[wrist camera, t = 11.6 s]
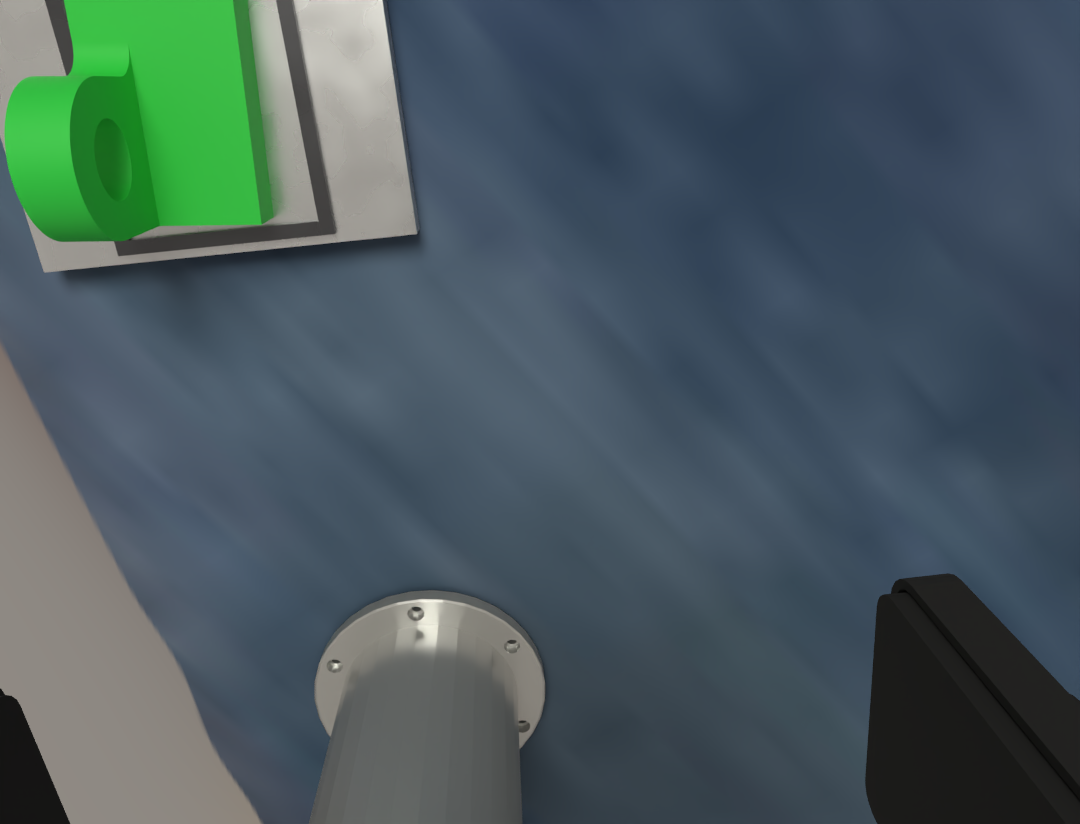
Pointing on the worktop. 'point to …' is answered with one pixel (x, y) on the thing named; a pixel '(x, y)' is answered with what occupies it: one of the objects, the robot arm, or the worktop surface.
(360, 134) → the flange
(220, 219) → the mechanical part
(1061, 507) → the worktop surface
